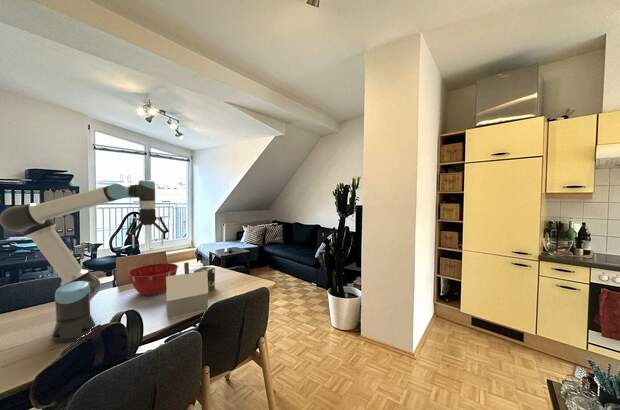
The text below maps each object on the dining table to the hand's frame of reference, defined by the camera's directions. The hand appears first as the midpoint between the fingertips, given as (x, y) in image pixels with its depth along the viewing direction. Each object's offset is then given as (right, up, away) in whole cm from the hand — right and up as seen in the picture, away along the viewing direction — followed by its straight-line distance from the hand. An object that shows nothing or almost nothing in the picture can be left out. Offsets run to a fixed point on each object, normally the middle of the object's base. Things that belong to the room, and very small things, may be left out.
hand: (148, 246), depth 141 cm
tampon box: (+19, -35, +31) cm, 51 cm away
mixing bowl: (-13, -35, +27) cm, 46 cm away
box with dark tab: (+20, -20, +3) cm, 28 cm away
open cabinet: (+20, -37, +3) cm, 42 cm away
